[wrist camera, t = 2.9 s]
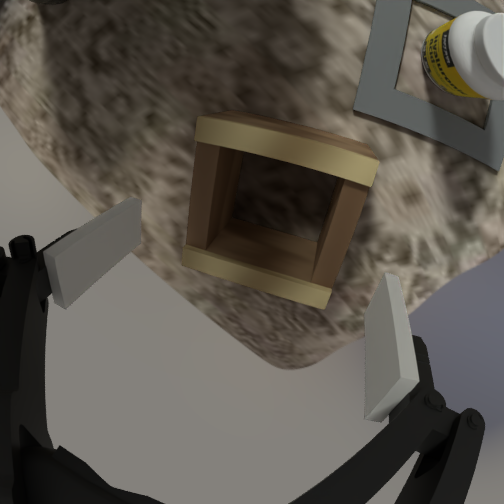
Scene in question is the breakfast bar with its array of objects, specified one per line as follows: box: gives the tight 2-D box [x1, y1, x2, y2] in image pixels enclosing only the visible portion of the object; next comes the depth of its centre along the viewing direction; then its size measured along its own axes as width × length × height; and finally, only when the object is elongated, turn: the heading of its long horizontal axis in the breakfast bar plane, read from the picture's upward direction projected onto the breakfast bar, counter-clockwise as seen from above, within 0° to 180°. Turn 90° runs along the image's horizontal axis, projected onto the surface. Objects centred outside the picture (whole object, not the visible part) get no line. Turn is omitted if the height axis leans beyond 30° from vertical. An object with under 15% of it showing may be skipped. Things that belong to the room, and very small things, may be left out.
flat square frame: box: [353, 0, 504, 171], centre depth 15 cm, size 13×13×1 cm
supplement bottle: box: [421, 11, 504, 100], centre depth 11 cm, size 5×5×10 cm
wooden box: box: [182, 110, 379, 310], centre depth 21 cm, size 10×10×6 cm
